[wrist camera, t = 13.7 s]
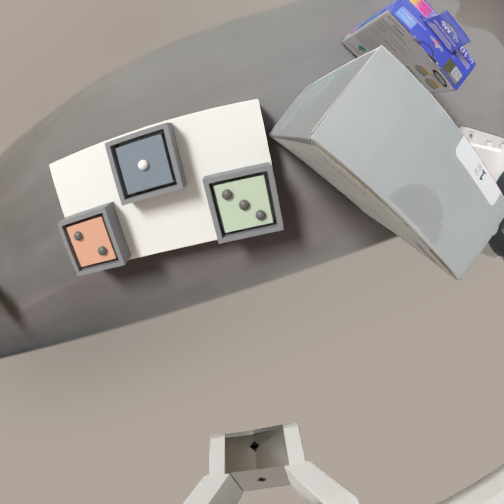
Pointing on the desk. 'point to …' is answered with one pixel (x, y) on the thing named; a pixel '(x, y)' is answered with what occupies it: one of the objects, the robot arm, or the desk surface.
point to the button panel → (168, 184)
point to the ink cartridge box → (417, 43)
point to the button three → (243, 202)
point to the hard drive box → (396, 158)
